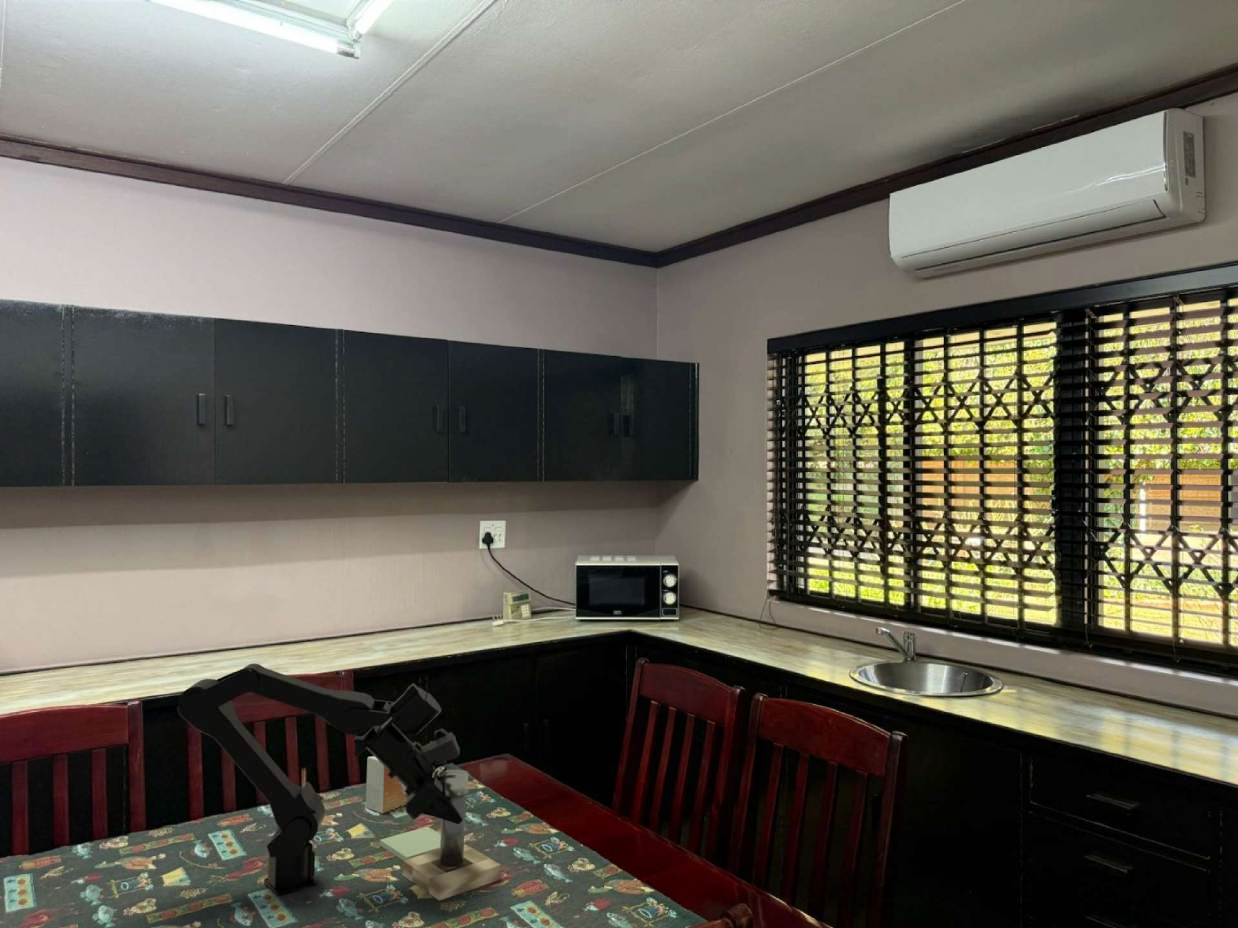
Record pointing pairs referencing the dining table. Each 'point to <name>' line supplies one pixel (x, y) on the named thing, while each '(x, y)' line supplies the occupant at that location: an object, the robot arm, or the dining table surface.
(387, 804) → the small box
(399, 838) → the pad
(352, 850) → the dining table surface
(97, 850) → the dining table surface
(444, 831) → the dome-ended metal peg
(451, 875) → the socket block
